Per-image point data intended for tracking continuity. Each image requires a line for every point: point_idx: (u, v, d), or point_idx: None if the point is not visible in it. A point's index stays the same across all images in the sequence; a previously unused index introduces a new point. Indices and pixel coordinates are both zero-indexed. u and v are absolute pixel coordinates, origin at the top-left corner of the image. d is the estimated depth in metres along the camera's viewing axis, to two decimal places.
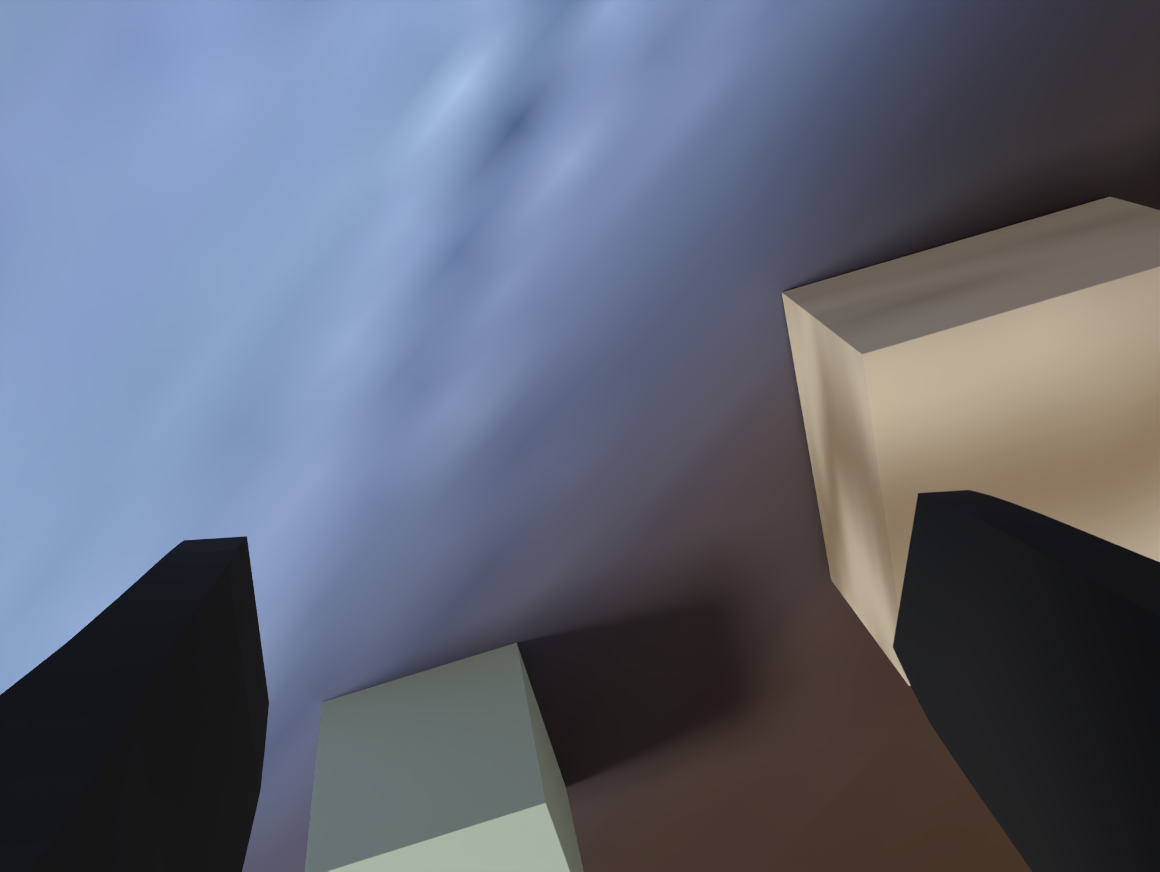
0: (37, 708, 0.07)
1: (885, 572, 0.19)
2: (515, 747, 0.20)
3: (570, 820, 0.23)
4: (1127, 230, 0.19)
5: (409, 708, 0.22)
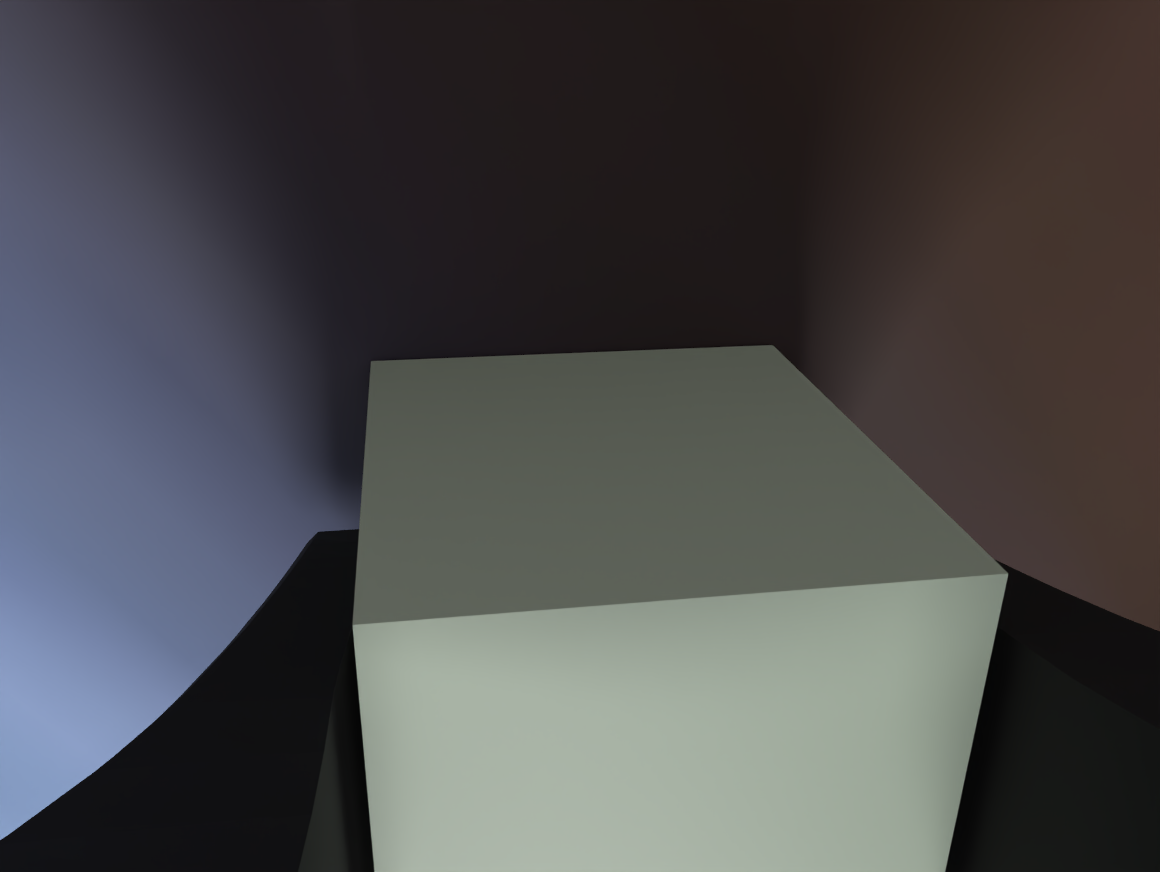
0: (240, 690, 0.07)
1: None
2: None
3: (774, 401, 0.10)
4: None
5: None
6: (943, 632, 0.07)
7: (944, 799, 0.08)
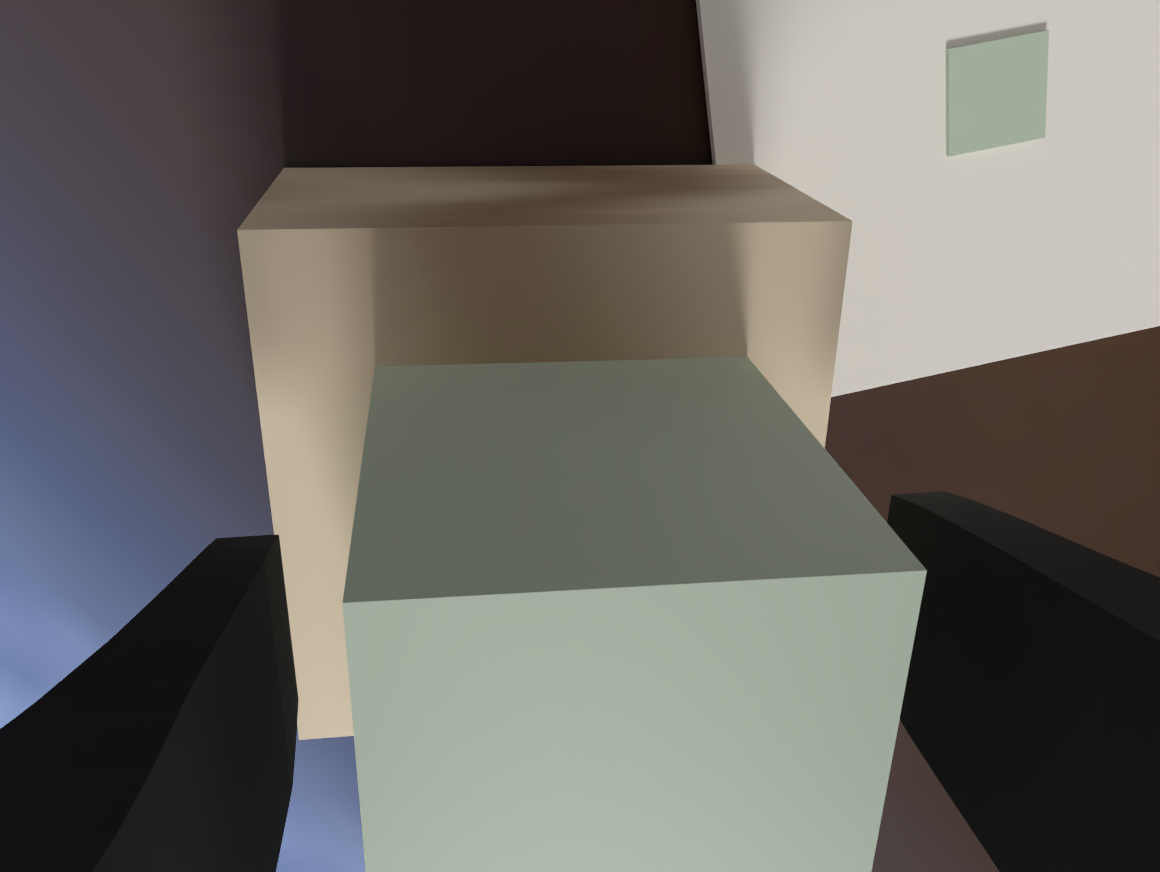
0: (86, 704, 0.07)
1: None
2: None
3: (741, 410, 0.11)
4: None
5: None
6: (870, 621, 0.08)
7: (874, 772, 0.09)
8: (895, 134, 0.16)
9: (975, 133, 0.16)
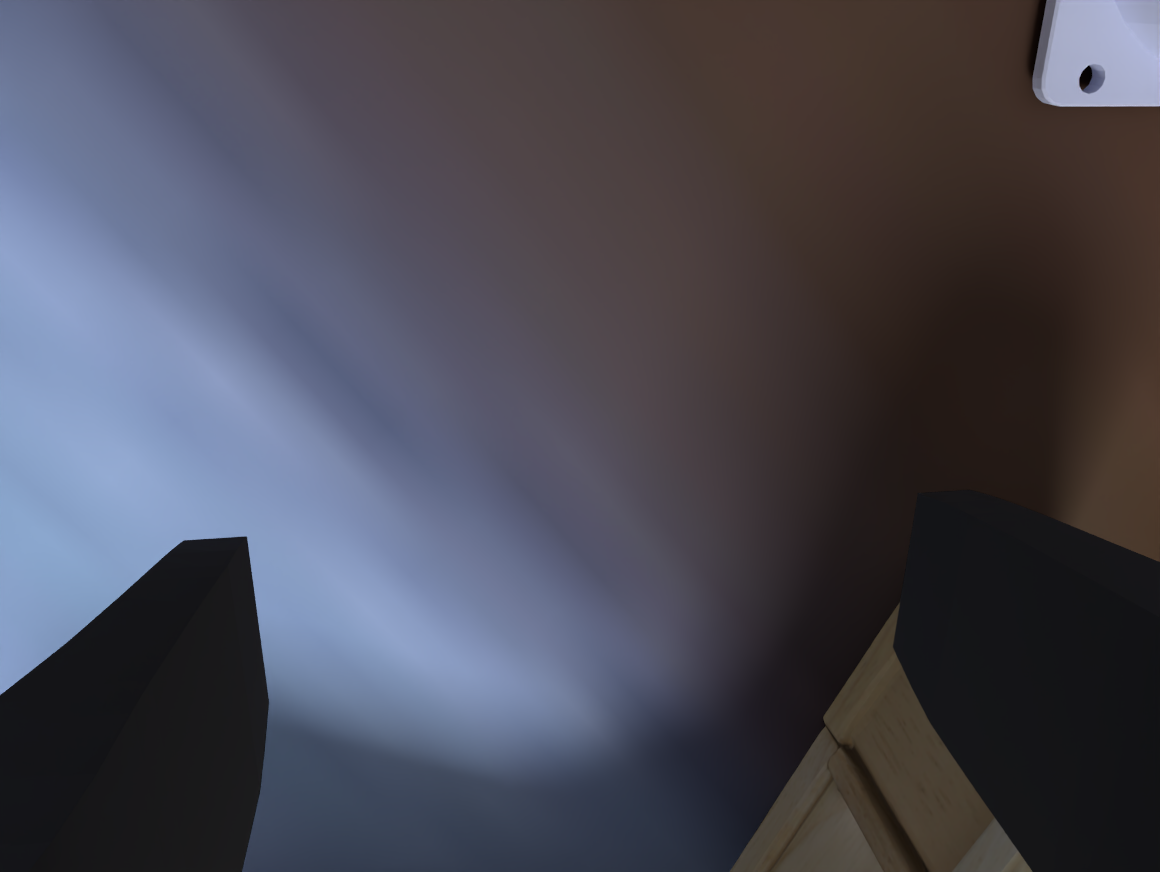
0: (37, 708, 0.07)
1: None
2: None
3: None
4: None
5: None
6: None
7: None
8: None
9: None
